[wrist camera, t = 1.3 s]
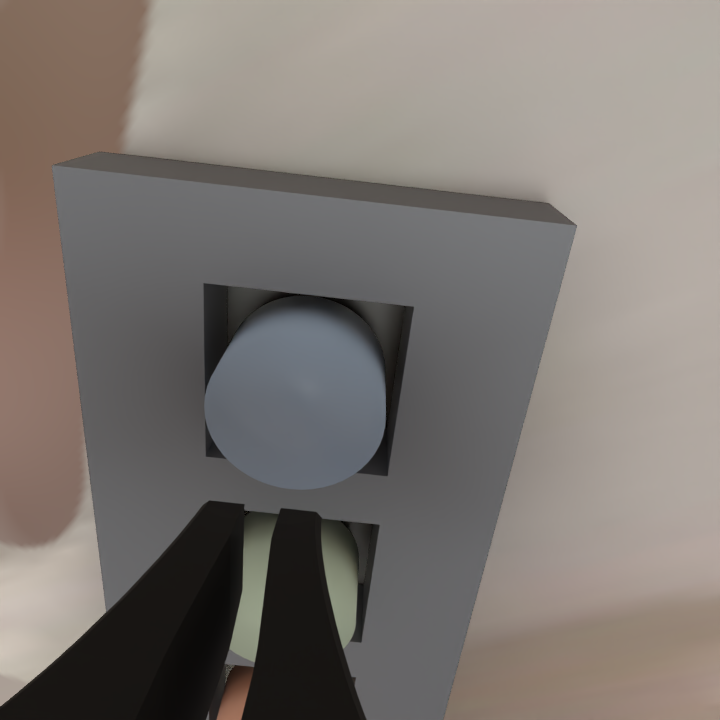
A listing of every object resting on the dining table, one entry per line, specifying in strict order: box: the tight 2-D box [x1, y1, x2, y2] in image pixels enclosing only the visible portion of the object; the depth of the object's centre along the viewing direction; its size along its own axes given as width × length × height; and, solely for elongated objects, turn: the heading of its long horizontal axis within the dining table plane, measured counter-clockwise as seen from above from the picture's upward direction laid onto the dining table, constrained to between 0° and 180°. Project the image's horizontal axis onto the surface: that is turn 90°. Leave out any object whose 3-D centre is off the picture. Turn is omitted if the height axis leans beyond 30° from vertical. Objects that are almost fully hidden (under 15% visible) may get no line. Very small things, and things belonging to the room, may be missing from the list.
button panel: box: [52, 152, 577, 720], centre depth 20 cm, size 24×12×2 cm, turn 174°
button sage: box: [230, 511, 359, 662], centre depth 18 cm, size 4×4×2 cm
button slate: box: [204, 296, 386, 490], centre depth 15 cm, size 4×4×2 cm
